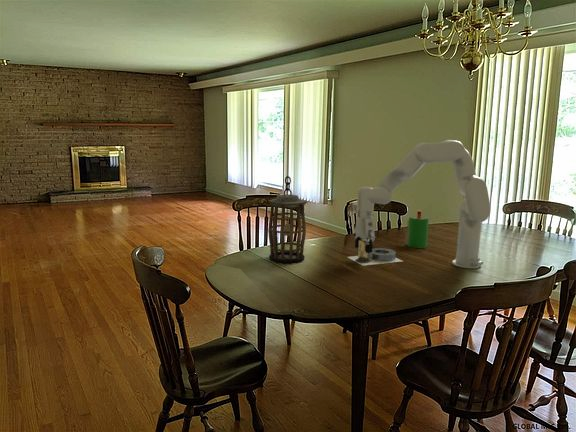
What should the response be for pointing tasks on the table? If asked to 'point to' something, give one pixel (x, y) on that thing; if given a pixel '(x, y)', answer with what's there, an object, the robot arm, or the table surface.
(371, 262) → the base plate
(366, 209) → the robot arm
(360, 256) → the brass round-ended cylinder
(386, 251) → the ring
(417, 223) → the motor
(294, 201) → the lantern
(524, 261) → the table surface
